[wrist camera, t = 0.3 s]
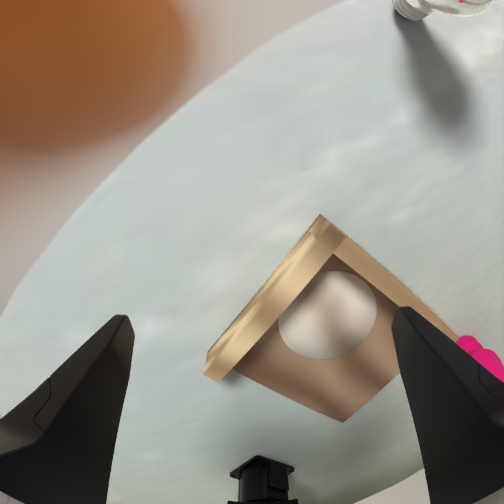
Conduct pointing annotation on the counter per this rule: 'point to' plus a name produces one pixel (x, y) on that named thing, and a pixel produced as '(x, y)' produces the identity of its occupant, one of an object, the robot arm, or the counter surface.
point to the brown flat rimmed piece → (320, 326)
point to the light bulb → (440, 7)
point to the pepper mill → (482, 355)
